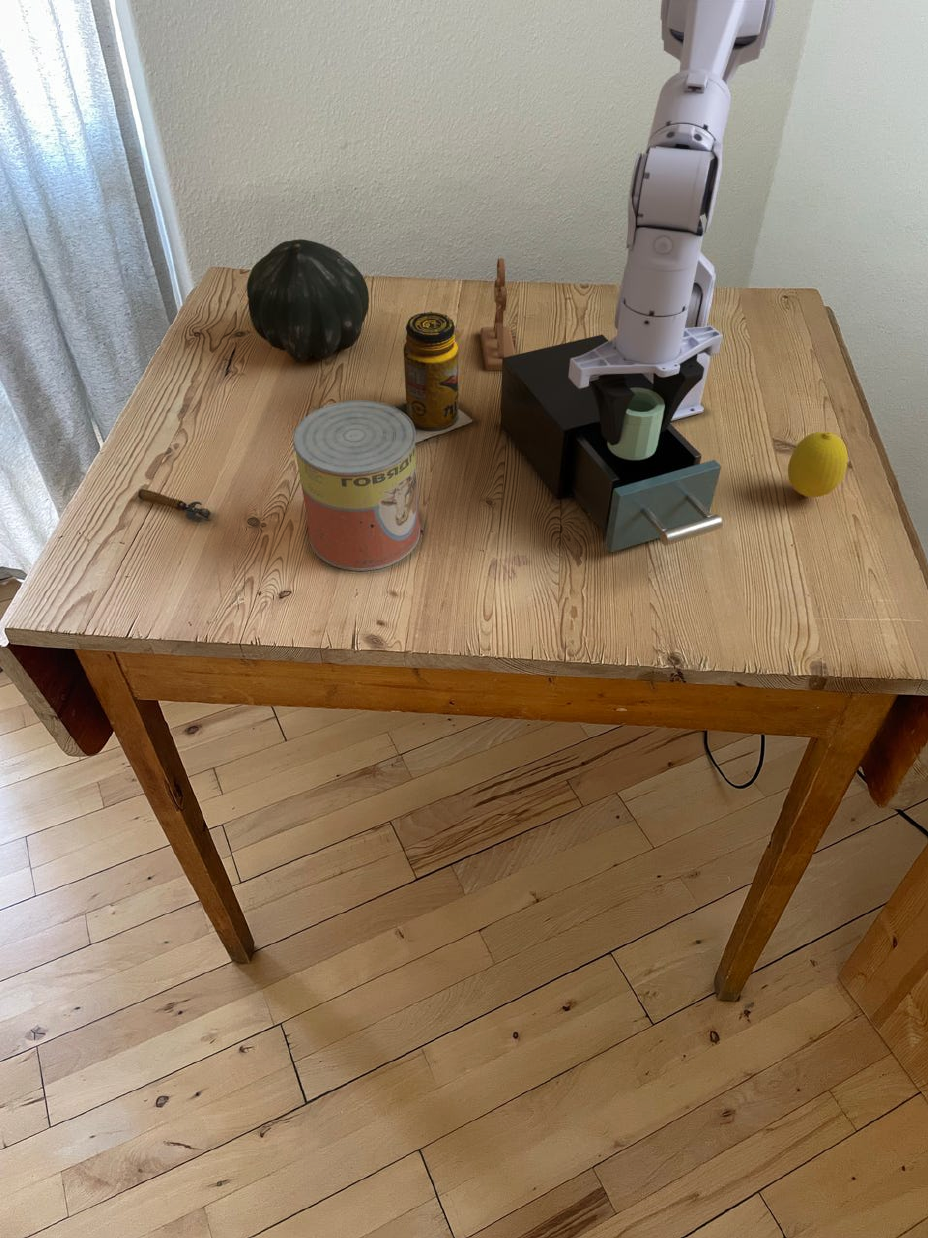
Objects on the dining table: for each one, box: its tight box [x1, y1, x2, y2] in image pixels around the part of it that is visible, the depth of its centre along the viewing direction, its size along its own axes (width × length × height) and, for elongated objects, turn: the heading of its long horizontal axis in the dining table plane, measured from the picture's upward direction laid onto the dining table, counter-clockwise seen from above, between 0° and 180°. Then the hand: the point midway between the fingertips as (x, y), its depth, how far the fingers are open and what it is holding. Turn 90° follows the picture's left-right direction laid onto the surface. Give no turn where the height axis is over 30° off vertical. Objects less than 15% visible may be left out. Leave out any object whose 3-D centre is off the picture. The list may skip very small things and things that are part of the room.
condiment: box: [394, 311, 473, 444], centre depth 101 cm, size 7×8×12 cm
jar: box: [607, 388, 665, 460], centre depth 86 cm, size 5×5×5 cm
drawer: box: [564, 422, 723, 554], centre depth 90 cm, size 18×11×7 cm, turn 23°
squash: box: [246, 238, 370, 362], centre depth 112 cm, size 14×15×15 cm
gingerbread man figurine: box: [480, 257, 517, 372], centre depth 111 cm, size 9×4×12 cm, turn 4°
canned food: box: [292, 399, 421, 572], centre depth 88 cm, size 11×11×12 cm
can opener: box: [137, 488, 211, 523], centre depth 94 cm, size 9×2×1 cm, turn 62°
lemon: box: [787, 431, 849, 498], centre depth 93 cm, size 6×6×8 cm
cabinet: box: [499, 334, 653, 501], centre depth 98 cm, size 14×12×9 cm
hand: (633, 432), depth 87 cm, fingers closed on jar, 5 cm apart
